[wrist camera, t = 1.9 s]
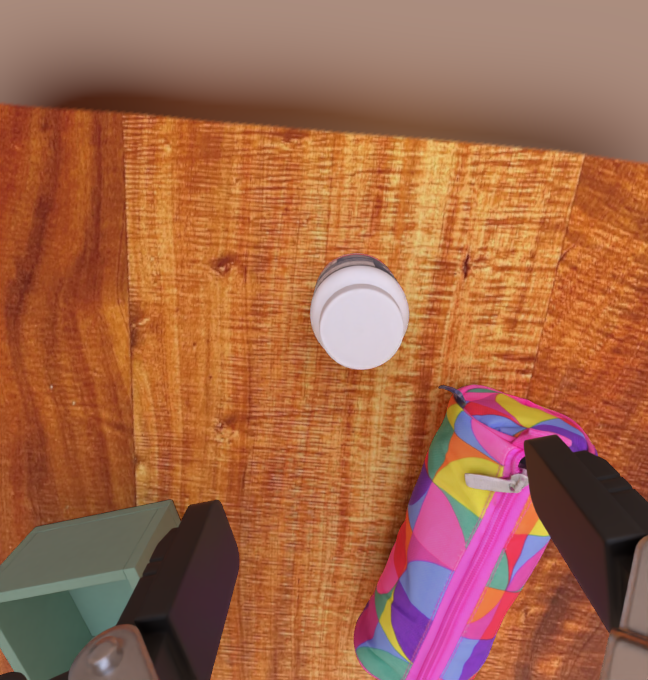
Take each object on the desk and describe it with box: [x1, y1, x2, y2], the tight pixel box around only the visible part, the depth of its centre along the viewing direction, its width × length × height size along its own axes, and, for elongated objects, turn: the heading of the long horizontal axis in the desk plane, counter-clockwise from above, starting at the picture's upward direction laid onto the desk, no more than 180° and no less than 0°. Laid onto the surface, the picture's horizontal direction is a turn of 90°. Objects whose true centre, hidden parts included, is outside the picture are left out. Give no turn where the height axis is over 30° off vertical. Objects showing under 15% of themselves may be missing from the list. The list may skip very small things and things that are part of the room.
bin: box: [0, 500, 181, 680], centre depth 34 cm, size 12×12×7 cm
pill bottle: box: [310, 253, 409, 370], centre depth 26 cm, size 5×5×9 cm
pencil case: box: [354, 385, 598, 680], centre depth 30 cm, size 22×9×9 cm, turn 165°
